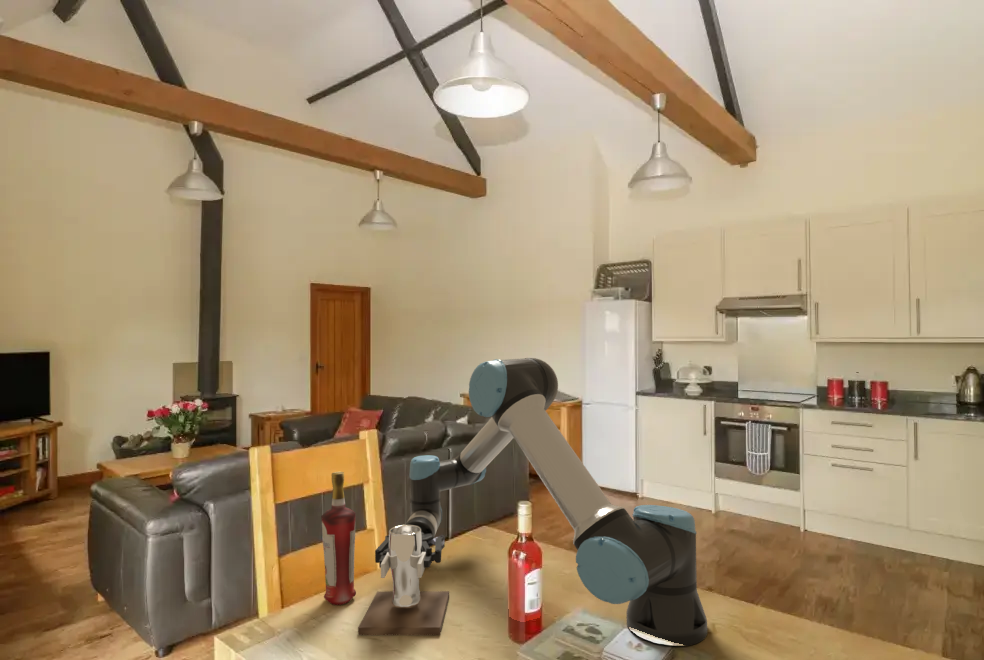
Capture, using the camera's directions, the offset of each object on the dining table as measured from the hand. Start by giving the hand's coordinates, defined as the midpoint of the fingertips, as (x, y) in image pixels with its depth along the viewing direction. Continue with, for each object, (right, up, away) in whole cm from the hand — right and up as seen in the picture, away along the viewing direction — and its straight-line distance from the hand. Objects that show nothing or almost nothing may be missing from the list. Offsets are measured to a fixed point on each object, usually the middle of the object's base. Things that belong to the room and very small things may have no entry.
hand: (400, 570), depth 118 cm
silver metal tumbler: (0, -9, +5) cm, 10 cm away
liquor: (-15, -12, +13) cm, 23 cm away
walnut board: (0, -11, +5) cm, 12 cm away
